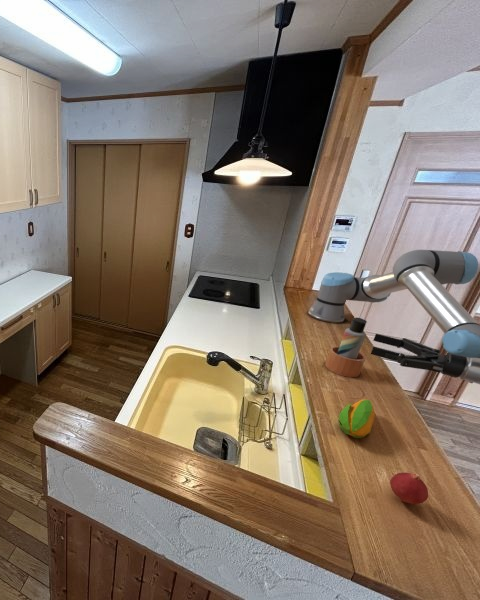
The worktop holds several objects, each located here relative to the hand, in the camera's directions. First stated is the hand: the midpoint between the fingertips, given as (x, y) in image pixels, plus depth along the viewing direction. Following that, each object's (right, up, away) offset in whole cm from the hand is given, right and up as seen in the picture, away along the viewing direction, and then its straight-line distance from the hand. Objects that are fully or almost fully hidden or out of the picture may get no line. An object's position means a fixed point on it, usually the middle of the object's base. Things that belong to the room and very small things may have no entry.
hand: (373, 343), depth 113 cm
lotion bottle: (-4, -10, +8) cm, 14 cm away
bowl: (-4, -11, +8) cm, 14 cm away
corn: (-23, -21, -19) cm, 37 cm away
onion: (-31, -30, -41) cm, 60 cm away
